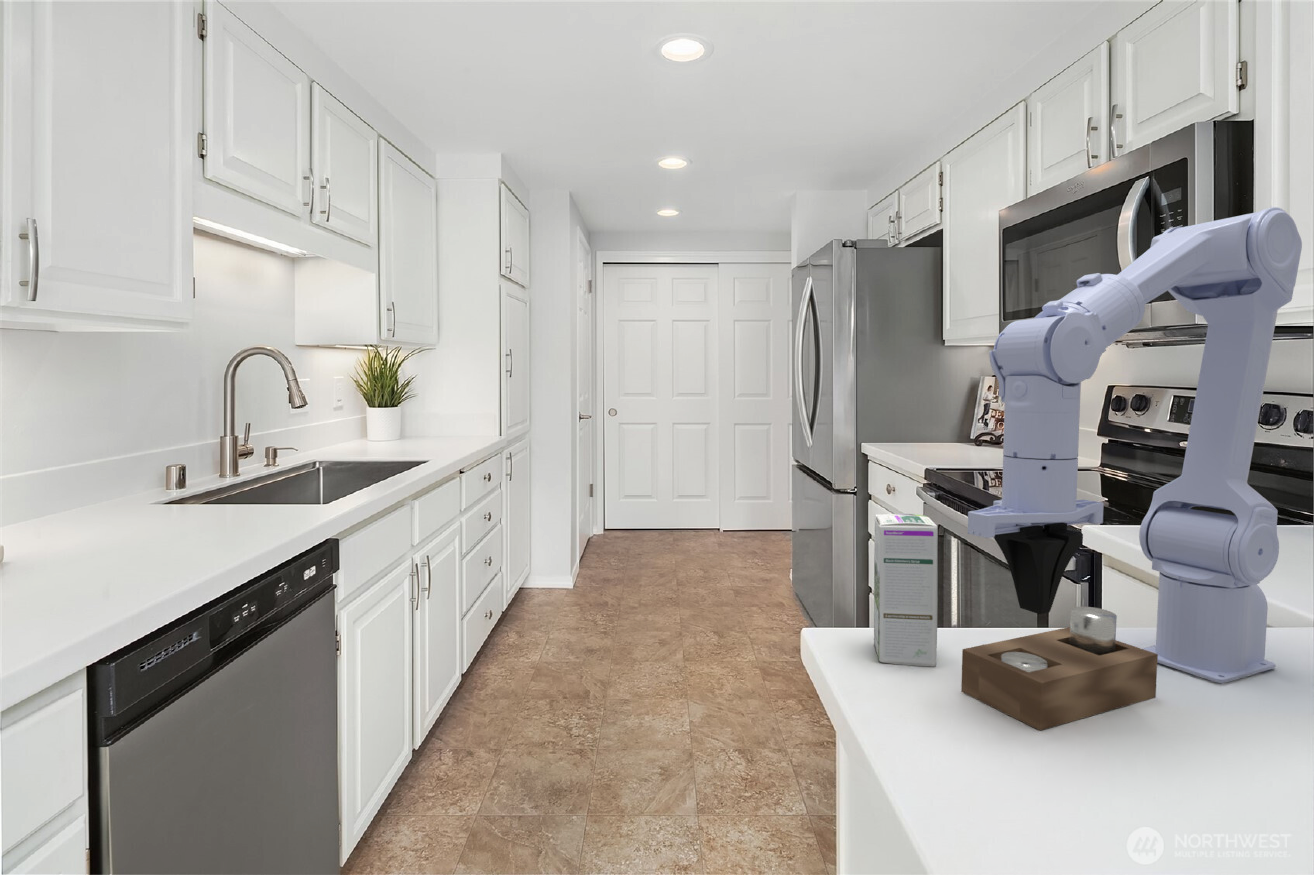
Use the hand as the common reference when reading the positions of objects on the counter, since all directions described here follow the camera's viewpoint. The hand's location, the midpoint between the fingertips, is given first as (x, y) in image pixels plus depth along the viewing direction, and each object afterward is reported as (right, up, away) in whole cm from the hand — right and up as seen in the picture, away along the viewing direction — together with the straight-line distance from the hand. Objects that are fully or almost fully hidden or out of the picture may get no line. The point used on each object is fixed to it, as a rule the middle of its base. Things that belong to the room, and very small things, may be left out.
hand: (1034, 610), depth 61 cm
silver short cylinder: (+7, -5, +4) cm, 10 cm away
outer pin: (-1, -8, 0) cm, 8 cm away
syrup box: (-8, -8, +11) cm, 16 cm away
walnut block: (+3, -8, +2) cm, 9 cm away
